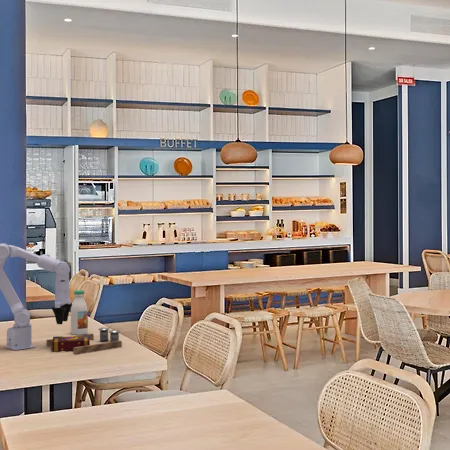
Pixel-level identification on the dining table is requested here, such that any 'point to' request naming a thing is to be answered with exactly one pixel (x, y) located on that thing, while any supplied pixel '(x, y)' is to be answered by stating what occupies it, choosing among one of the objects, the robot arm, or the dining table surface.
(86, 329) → the milk bottle
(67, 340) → the decorative book
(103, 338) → the boss posts
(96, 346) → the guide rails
